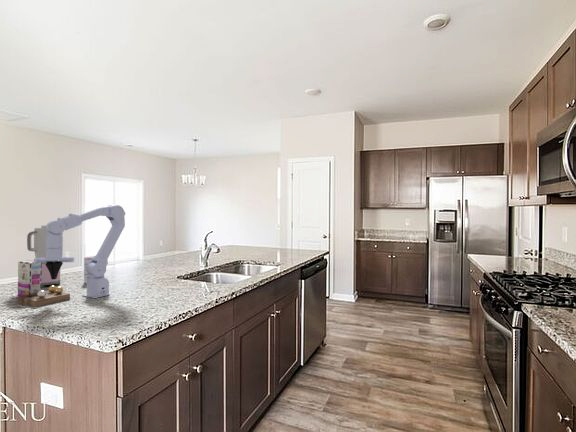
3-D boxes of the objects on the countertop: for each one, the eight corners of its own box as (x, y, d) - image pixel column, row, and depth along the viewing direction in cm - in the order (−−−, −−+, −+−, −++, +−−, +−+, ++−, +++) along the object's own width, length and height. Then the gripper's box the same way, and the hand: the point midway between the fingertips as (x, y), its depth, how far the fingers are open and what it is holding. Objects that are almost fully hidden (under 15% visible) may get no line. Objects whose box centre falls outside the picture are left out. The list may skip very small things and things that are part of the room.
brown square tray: (69, 299, 150) (70, 293, 150) (34, 306, 137) (34, 300, 137) (51, 295, 156) (51, 290, 156) (15, 302, 143) (15, 296, 143)
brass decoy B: (58, 292, 152) (58, 285, 152) (50, 293, 149) (50, 286, 149) (54, 291, 154) (54, 284, 154) (46, 292, 151) (46, 285, 151)
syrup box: (93, 283, 184) (94, 257, 184) (83, 283, 184) (83, 257, 184) (99, 281, 190) (100, 255, 189) (89, 281, 190) (90, 255, 190)
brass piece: (64, 293, 150) (64, 286, 150) (57, 295, 147) (57, 287, 147) (60, 292, 151) (60, 285, 151) (53, 294, 149) (53, 287, 149)
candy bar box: (42, 297, 153) (42, 261, 153) (29, 299, 148) (29, 262, 148) (29, 294, 158) (29, 259, 158) (16, 296, 154) (17, 260, 154)
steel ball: (48, 297, 143) (48, 289, 143) (39, 299, 140) (39, 291, 140) (43, 296, 144) (43, 289, 144) (35, 298, 141) (35, 290, 141)
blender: (51, 281, 186) (52, 224, 186) (65, 284, 181) (66, 225, 181) (19, 287, 171) (20, 225, 171) (34, 289, 167) (34, 226, 166)
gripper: (76, 246, 151) (75, 276, 151) (39, 247, 147) (38, 277, 147) (71, 248, 144) (70, 279, 144) (32, 248, 140) (31, 280, 140)
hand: (54, 279), depth 145 cm, fingers closed
